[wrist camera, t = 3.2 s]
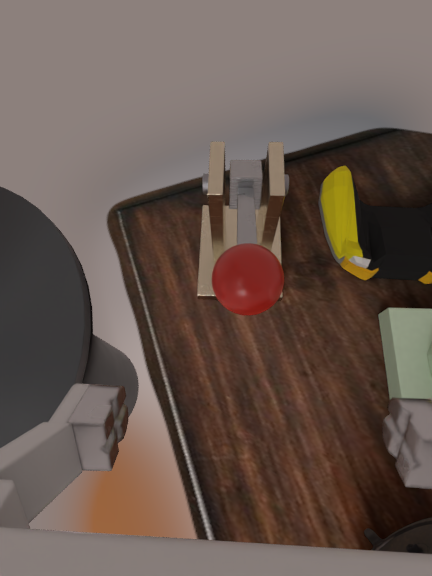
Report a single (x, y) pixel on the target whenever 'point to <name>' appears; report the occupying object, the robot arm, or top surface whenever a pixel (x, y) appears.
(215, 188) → the switch bracket
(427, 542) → the alarm clock
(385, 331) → the button box
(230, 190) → the switch lever
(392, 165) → the top surface
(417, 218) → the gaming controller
